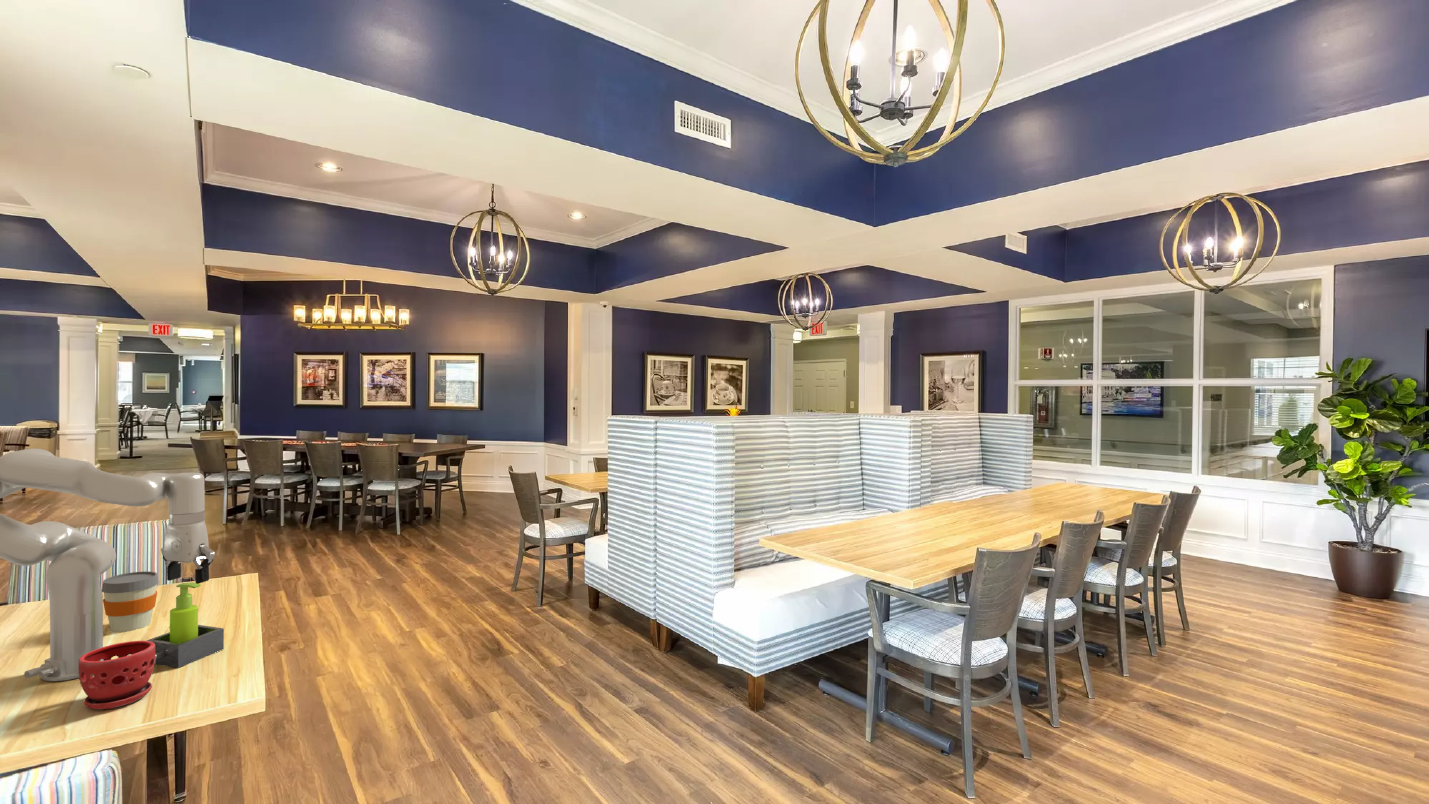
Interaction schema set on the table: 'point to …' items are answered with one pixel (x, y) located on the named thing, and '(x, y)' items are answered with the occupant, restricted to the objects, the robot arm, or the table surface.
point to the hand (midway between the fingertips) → (188, 580)
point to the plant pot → (117, 674)
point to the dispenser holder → (188, 647)
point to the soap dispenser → (184, 616)
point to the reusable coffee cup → (130, 600)
